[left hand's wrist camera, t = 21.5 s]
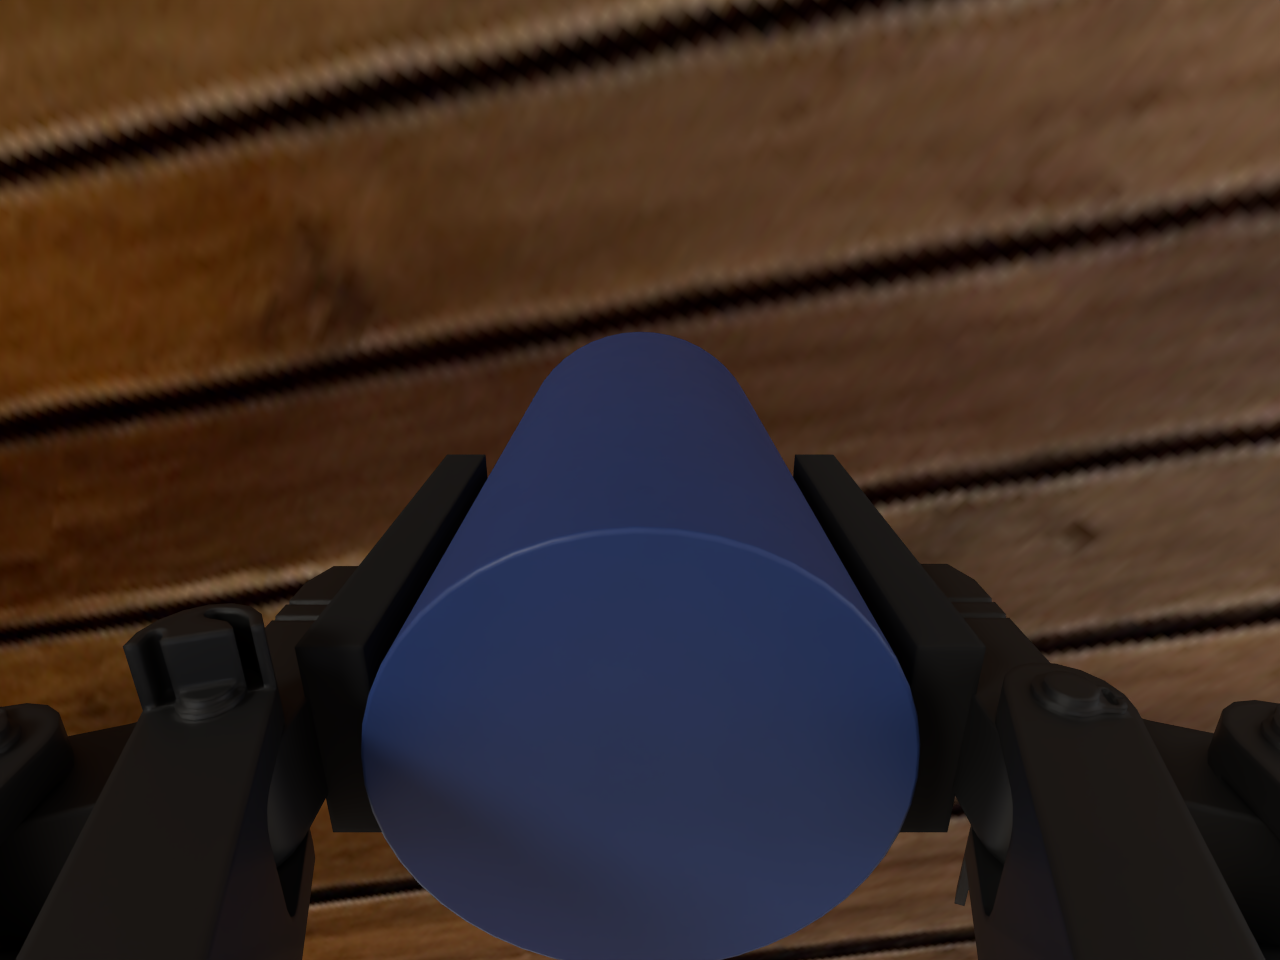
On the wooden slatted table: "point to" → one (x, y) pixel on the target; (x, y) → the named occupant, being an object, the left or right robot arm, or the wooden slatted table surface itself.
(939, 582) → the left robot arm
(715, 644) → the canister
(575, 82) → the wooden slatted table surface
